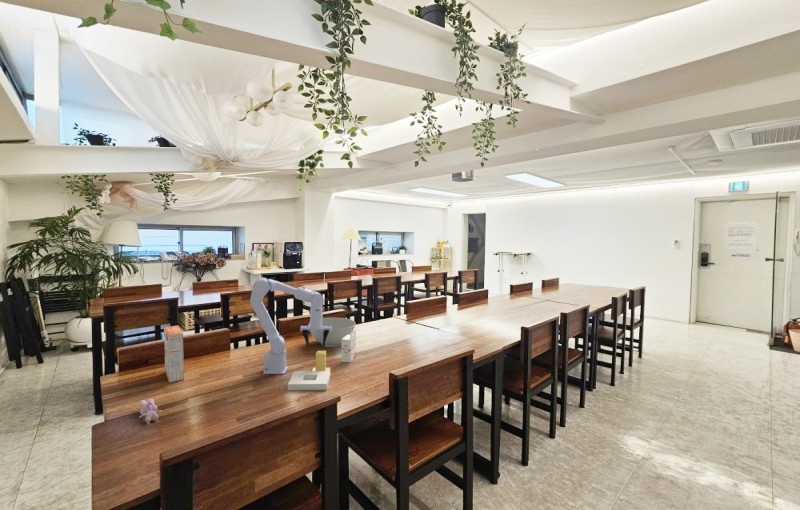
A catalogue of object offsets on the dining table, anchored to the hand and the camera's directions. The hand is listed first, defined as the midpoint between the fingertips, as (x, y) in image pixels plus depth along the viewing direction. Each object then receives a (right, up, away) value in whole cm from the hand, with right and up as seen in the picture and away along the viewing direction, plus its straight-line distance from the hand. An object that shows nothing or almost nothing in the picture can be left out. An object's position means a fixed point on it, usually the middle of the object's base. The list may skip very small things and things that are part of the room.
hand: (315, 345), depth 167 cm
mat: (+4, -11, -5) cm, 13 cm away
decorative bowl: (+1, -8, +35) cm, 36 cm away
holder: (+2, -12, -17) cm, 21 cm away
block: (+4, -11, -6) cm, 12 cm away
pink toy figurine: (-47, -13, -46) cm, 67 cm away
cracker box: (-59, -10, -15) cm, 61 cm away
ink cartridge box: (+14, -10, +11) cm, 21 cm away
